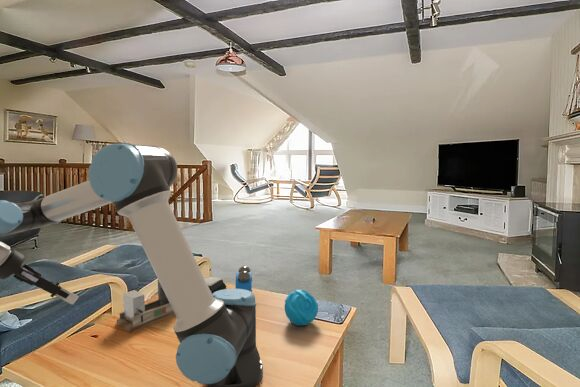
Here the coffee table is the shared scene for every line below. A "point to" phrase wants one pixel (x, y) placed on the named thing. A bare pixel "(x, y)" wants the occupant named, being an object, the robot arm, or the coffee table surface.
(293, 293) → the blue round piece
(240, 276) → the alarm clock
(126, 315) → the carriage
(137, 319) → the frame
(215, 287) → the miniature car
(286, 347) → the coffee table surface
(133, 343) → the coffee table surface
